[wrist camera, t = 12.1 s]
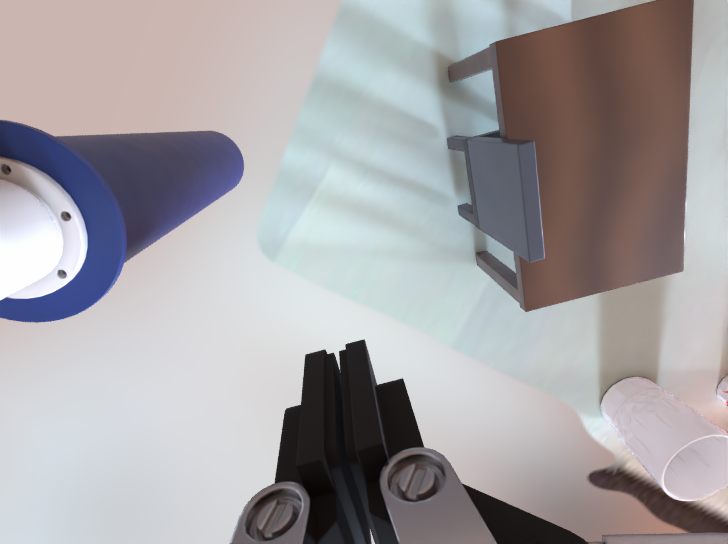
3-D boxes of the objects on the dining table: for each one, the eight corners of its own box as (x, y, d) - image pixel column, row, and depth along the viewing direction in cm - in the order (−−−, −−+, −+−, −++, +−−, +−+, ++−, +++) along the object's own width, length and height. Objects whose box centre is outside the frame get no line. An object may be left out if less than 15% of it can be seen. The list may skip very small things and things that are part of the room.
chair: (458, 215, 38) (529, 263, 25) (445, 137, 35) (517, 144, 22) (532, 196, 38) (642, 234, 25) (524, 117, 35) (642, 112, 22)
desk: (476, 266, 40) (525, 312, 30) (445, 66, 34) (495, 41, 24) (595, 235, 40) (684, 271, 30) (586, 29, 34) (694, -10, 24)
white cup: (581, 404, 47) (645, 474, 37) (637, 358, 45) (718, 419, 36) (619, 439, 49) (688, 513, 40) (673, 396, 48) (759, 463, 38)
